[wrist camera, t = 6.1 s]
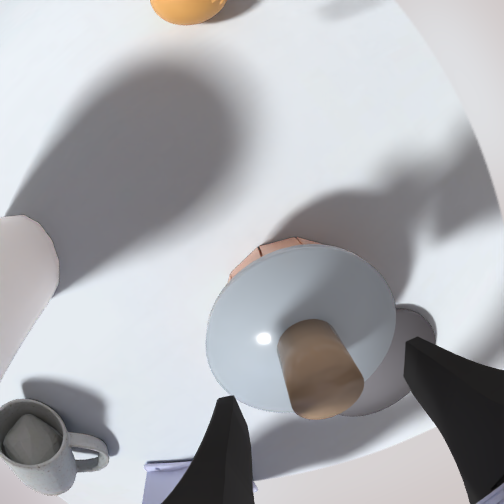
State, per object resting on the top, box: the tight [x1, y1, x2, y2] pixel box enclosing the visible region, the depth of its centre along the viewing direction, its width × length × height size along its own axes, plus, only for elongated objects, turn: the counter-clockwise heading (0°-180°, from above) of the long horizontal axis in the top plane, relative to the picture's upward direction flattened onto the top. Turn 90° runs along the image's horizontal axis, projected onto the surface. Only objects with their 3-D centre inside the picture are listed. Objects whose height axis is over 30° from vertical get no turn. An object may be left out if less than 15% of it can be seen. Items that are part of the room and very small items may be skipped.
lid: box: [206, 244, 396, 420], centre depth 12 cm, size 10×10×4 cm
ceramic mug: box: [0, 399, 109, 495], centre depth 17 cm, size 11×8×8 cm
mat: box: [339, 309, 435, 416], centre depth 20 cm, size 10×10×1 cm
